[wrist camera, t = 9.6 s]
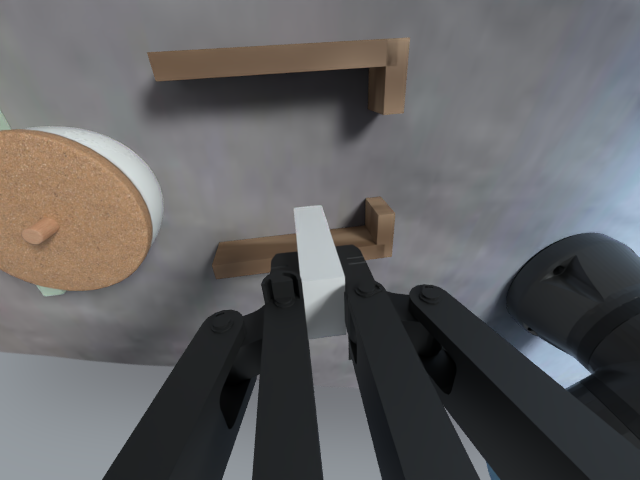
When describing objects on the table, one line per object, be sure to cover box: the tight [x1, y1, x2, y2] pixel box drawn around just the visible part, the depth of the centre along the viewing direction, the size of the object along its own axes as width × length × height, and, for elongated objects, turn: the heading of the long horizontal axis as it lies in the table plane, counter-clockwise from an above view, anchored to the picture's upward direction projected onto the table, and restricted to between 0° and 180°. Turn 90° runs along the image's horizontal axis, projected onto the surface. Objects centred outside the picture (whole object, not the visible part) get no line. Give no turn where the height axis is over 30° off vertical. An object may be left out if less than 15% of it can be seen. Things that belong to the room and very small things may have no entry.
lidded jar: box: [0, 126, 164, 291], centre depth 20 cm, size 11×11×9 cm
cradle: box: [147, 38, 410, 279], centre depth 24 cm, size 17×16×4 cm
